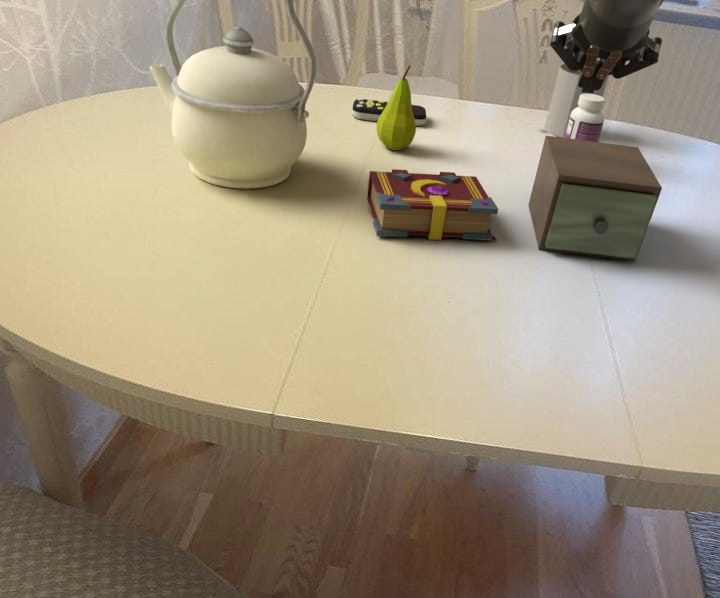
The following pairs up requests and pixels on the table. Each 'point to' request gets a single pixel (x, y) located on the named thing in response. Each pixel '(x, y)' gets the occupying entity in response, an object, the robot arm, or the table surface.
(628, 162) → the cabinet
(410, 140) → the fruit
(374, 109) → the remote control
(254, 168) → the kettle
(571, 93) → the cup
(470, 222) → the decorative book
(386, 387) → the table surface
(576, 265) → the table surface
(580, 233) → the drawer
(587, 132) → the pill bottle
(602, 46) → the robot arm
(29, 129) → the table surface
